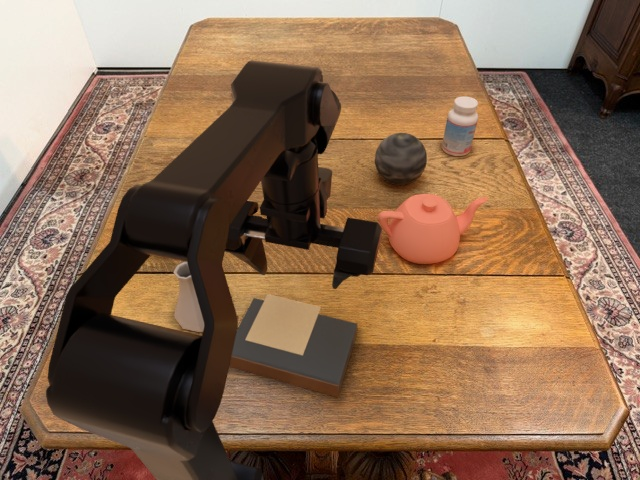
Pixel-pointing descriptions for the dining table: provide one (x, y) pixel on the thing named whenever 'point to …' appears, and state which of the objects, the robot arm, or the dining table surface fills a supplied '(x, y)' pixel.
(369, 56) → the dining table surface
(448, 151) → the pill bottle
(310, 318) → the grey and beige box
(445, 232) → the teapot
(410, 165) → the decorative stone
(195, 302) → the octagonal bud vase
